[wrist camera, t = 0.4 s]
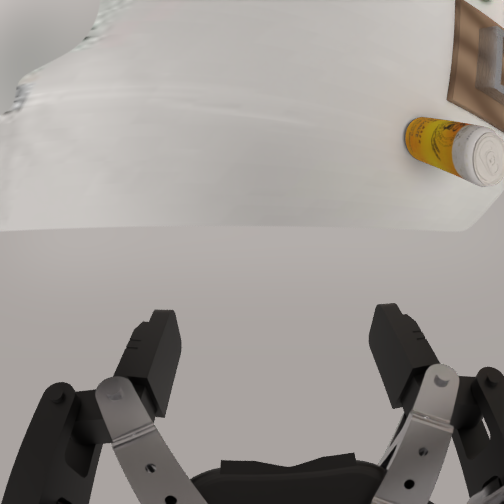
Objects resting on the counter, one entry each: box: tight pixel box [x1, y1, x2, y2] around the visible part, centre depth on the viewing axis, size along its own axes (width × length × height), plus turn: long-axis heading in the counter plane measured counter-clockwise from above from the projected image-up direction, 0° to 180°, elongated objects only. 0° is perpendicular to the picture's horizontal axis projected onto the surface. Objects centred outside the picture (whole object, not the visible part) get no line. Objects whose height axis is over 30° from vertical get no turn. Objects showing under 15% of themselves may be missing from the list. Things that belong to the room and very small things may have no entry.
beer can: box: [405, 117, 504, 187], centre depth 27 cm, size 6×6×15 cm
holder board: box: [447, 0, 504, 132], centre depth 27 cm, size 18×18×2 cm
